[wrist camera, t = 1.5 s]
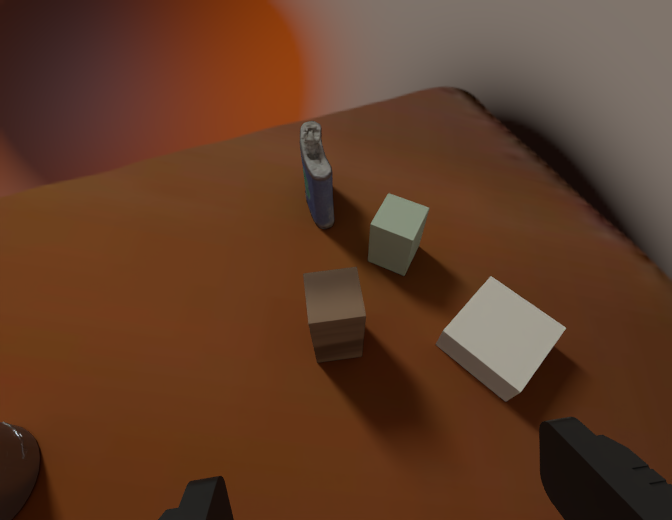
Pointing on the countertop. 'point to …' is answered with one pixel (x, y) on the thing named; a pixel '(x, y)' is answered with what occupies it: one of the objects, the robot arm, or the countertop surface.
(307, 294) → the walnut pillar
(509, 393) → the base block
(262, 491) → the countertop surface
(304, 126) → the flask
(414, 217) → the sage block
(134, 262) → the countertop surface
